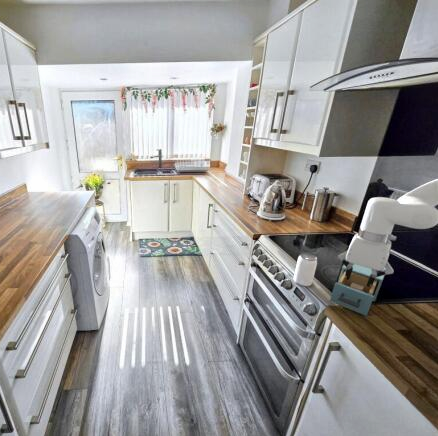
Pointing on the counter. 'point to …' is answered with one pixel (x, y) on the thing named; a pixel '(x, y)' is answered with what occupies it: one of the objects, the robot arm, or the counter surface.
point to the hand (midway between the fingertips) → (358, 281)
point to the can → (305, 269)
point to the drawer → (353, 293)
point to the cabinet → (366, 273)
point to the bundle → (357, 286)
